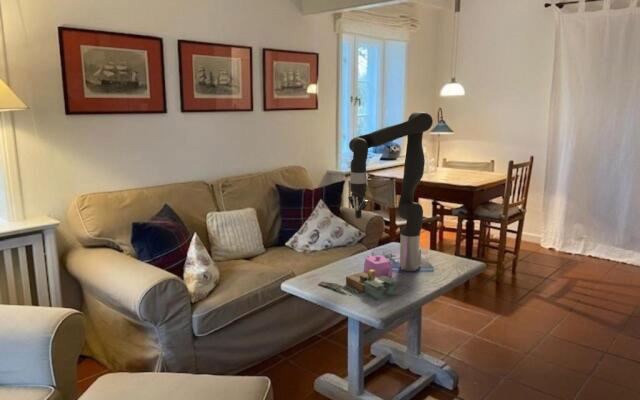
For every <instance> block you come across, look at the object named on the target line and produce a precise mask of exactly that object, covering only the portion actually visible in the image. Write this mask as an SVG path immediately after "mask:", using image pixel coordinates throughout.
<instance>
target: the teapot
mask: <svg viewBox="0 0 640 400" xmlns="http://www.w3.org/2000/svg"><path fill="white" fill-rule="evenodd" d="M363 264H364V265H363V272H365V271H366V272H368V273H369V270H372V269H373V270H375V276H376V277H381V276H386V277H388V278H390V279H392V277H393V267H392V261H391V260H390V259H388V258H387V257H384V256H383V255H381V254H380V255H379V254H378V255H371V254H370V255H367V257H365V258H364V263H363Z"/></svg>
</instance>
